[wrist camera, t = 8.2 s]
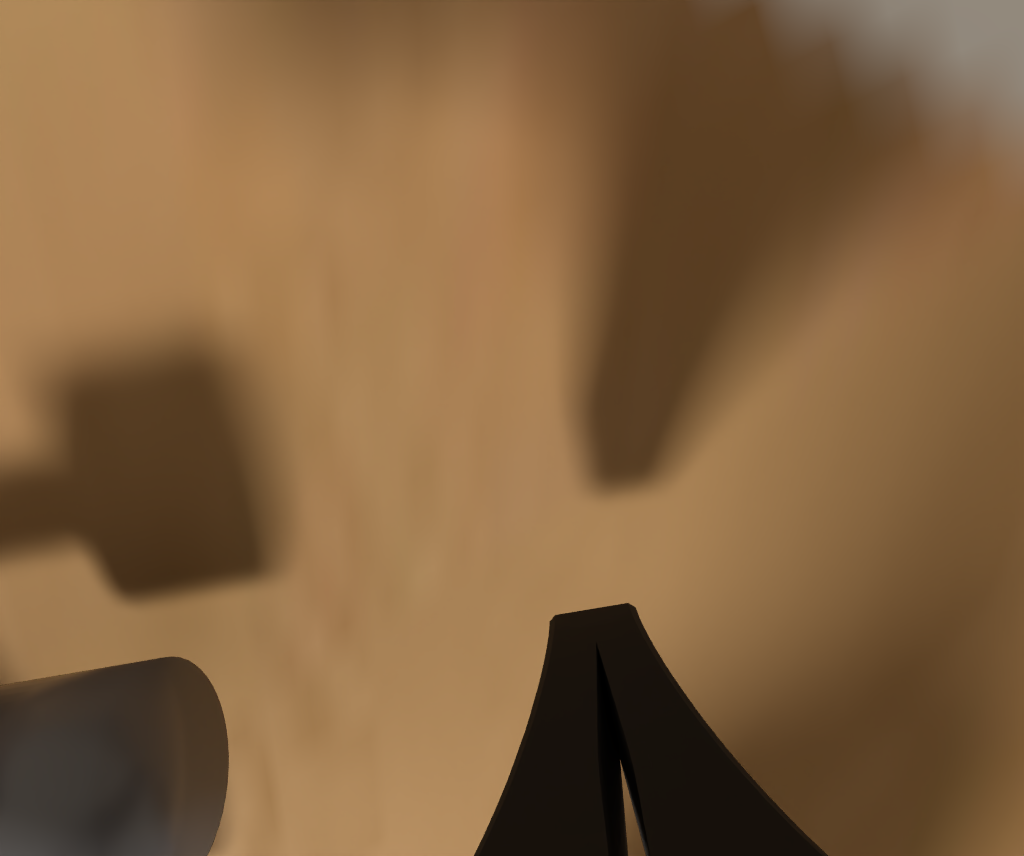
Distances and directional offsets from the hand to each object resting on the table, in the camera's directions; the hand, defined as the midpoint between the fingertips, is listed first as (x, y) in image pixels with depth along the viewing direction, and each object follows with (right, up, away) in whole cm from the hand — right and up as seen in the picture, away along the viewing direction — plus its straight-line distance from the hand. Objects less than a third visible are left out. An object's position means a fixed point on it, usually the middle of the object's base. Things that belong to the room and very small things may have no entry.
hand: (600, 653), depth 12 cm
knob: (-11, -2, +2) cm, 12 cm away
